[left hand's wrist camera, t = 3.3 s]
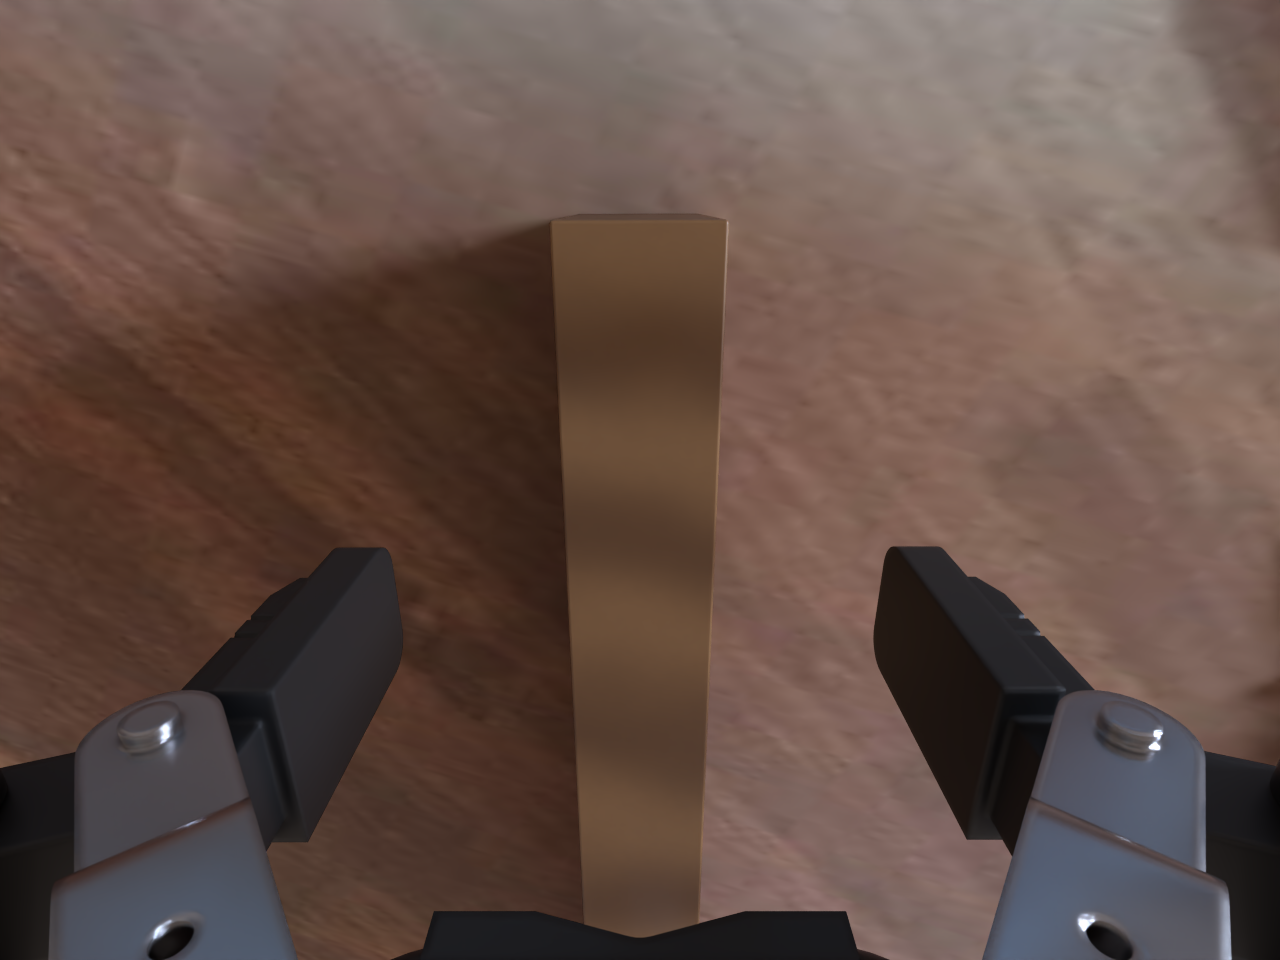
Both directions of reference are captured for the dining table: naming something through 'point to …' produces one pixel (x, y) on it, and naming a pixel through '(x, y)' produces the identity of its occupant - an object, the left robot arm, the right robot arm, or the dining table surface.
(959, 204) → the dining table surface
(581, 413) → the bar
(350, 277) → the dining table surface
